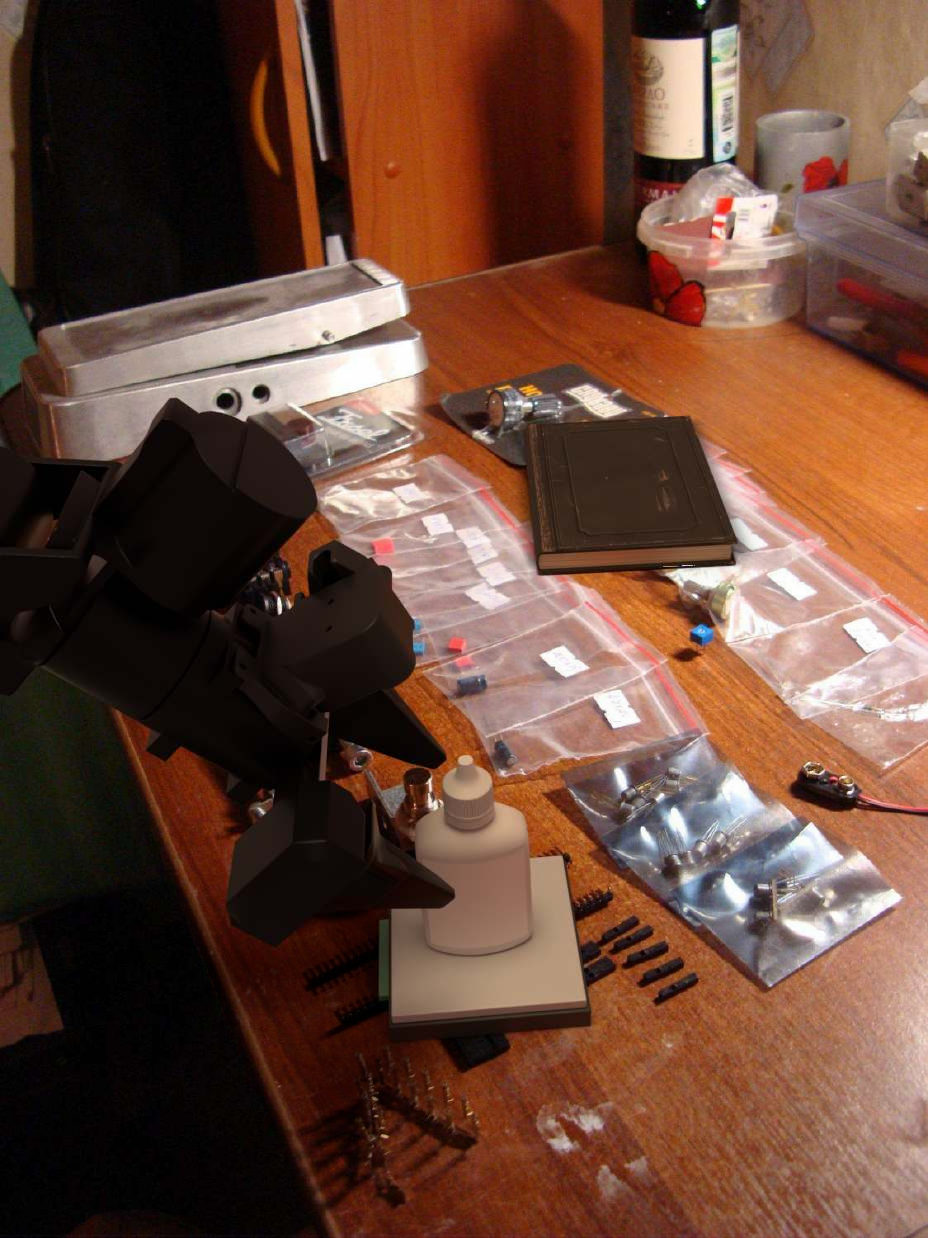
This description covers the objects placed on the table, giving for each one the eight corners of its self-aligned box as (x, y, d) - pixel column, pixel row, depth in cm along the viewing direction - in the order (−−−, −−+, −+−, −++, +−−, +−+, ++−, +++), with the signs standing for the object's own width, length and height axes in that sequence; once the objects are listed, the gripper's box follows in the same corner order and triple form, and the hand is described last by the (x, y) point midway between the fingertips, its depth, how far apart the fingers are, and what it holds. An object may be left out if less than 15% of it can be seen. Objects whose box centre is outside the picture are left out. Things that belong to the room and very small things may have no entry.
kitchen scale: (381, 1058, 58) (375, 1021, 56) (382, 903, 66) (376, 867, 64) (590, 1040, 58) (591, 1003, 56) (566, 888, 66) (565, 852, 64)
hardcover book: (688, 436, 111) (690, 414, 110) (735, 564, 92) (737, 540, 91) (523, 446, 112) (522, 424, 110) (536, 575, 93) (536, 551, 91)
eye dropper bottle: (511, 979, 57) (502, 807, 51) (412, 945, 60) (389, 775, 53) (544, 915, 61) (539, 745, 54) (448, 885, 63) (432, 717, 56)
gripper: (265, 684, 38) (591, 884, 45) (300, 435, 53) (540, 612, 60) (86, 866, 43) (406, 1024, 49) (166, 588, 58) (402, 737, 64)
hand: (445, 826), depth 56 cm, fingers open, 9 cm apart
